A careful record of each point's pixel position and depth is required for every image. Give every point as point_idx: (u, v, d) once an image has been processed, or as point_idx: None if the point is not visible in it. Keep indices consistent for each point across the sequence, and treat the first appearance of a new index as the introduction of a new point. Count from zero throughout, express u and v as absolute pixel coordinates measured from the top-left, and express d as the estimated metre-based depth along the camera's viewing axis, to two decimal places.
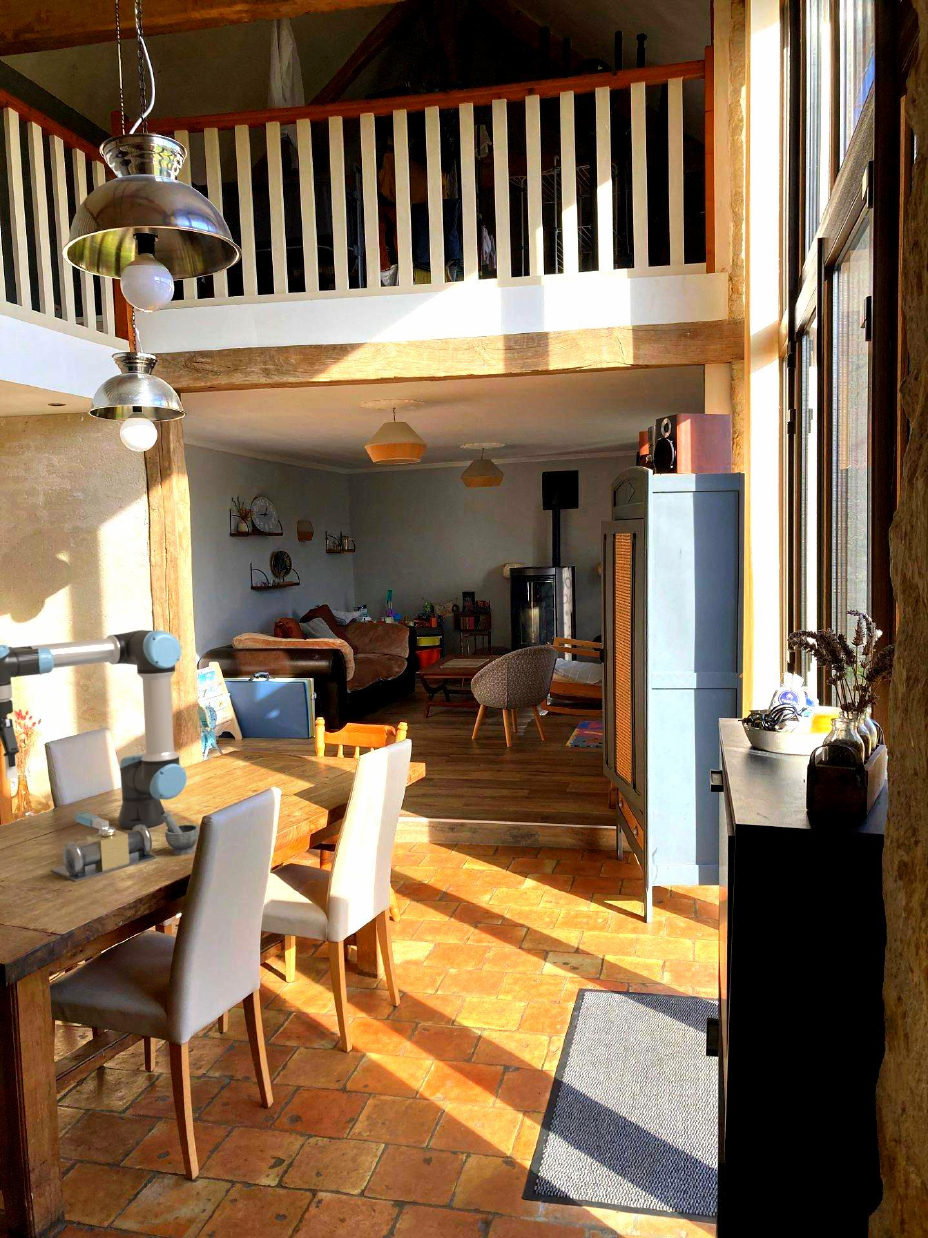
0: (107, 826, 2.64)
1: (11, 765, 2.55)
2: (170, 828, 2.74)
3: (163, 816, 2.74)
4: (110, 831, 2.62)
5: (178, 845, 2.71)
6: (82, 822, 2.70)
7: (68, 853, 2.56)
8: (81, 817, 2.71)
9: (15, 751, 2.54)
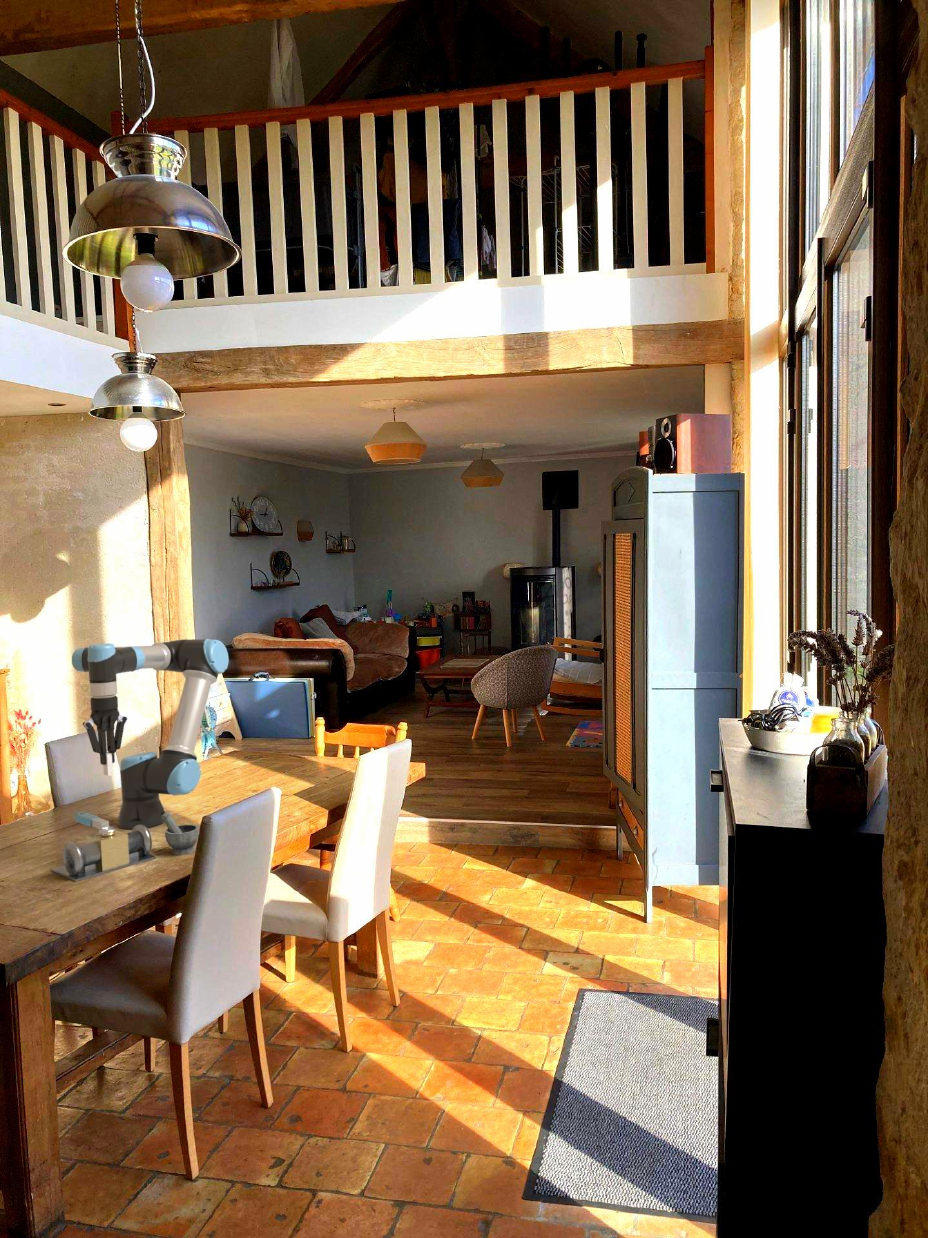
0: (107, 826, 2.64)
1: (101, 763, 2.73)
2: (170, 828, 2.74)
3: (163, 816, 2.74)
4: (110, 831, 2.62)
5: (178, 845, 2.71)
6: (82, 822, 2.70)
7: (68, 853, 2.56)
8: (81, 817, 2.71)
9: (95, 751, 2.71)
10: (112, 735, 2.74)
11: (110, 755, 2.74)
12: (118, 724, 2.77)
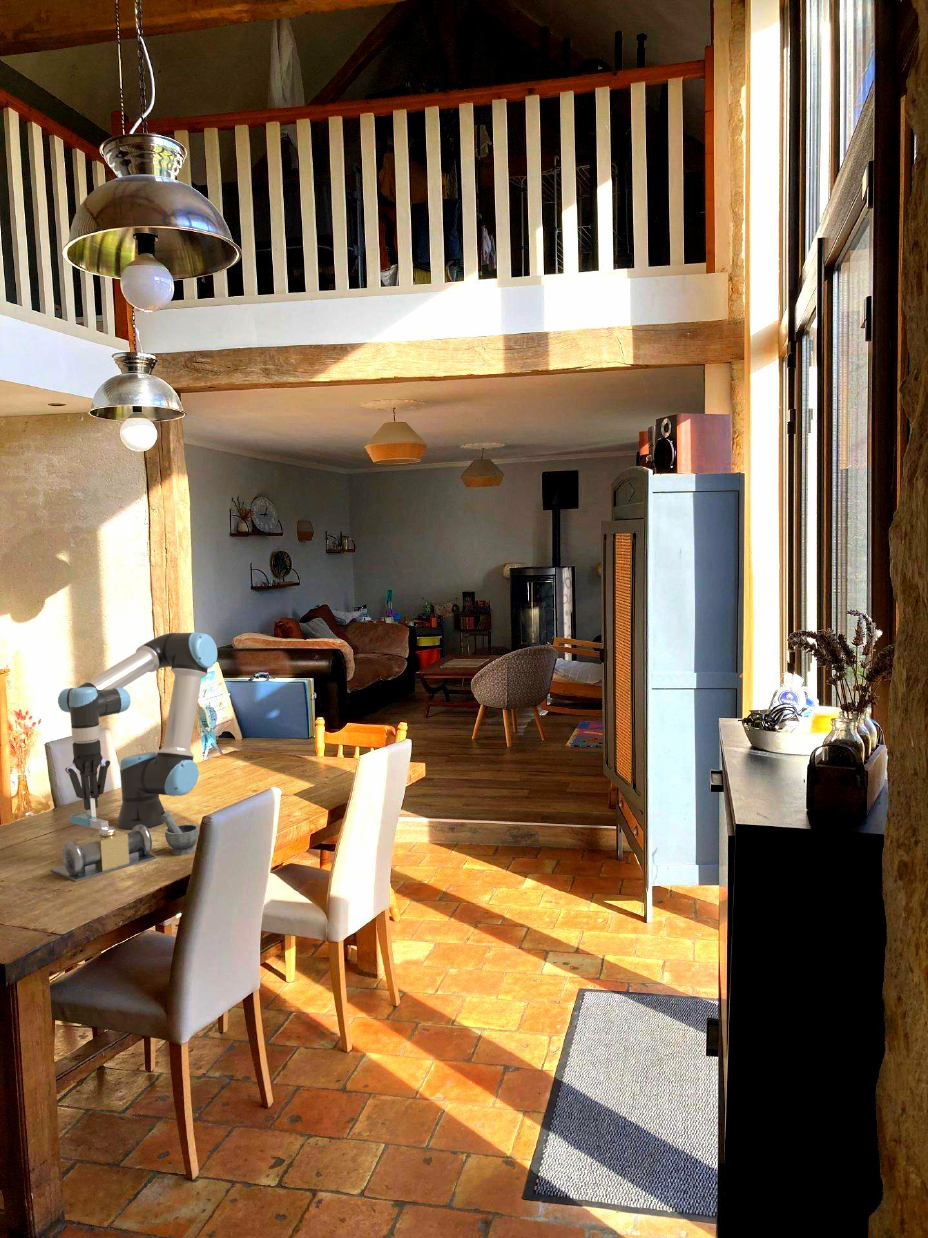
0: (107, 826, 2.64)
1: (84, 808, 2.70)
2: (170, 828, 2.74)
3: (163, 816, 2.74)
4: (111, 831, 2.62)
5: (178, 845, 2.71)
6: (78, 823, 2.69)
7: (68, 853, 2.56)
8: (77, 818, 2.69)
9: (79, 796, 2.68)
10: (95, 780, 2.71)
11: (93, 800, 2.70)
12: (102, 768, 2.73)
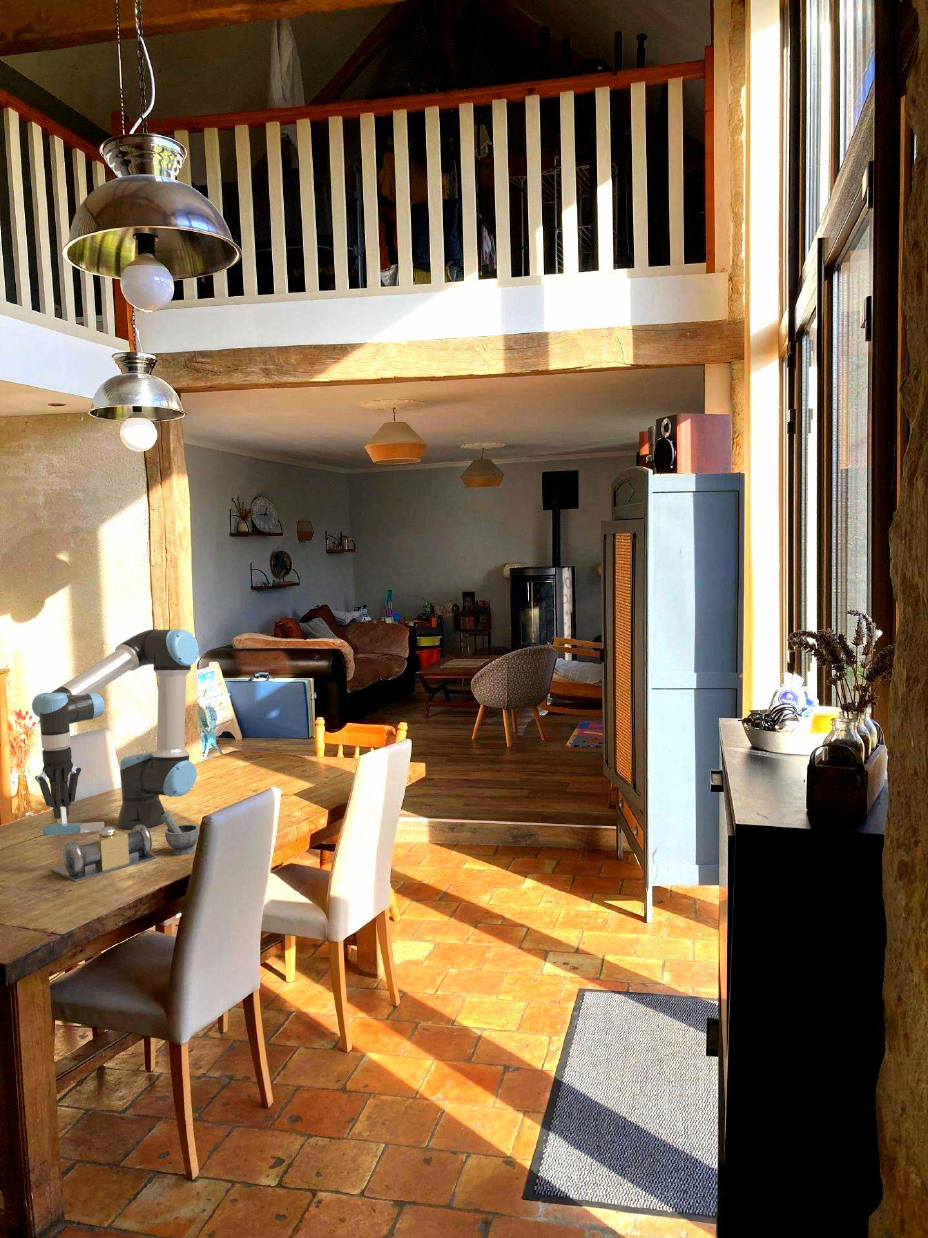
0: (103, 827, 2.64)
1: (55, 817, 2.63)
2: (170, 828, 2.74)
3: (163, 816, 2.74)
4: (114, 829, 2.63)
5: (178, 845, 2.71)
6: (61, 832, 2.60)
7: (68, 853, 2.56)
8: (59, 828, 2.60)
9: (49, 805, 2.61)
10: (66, 788, 2.64)
11: (64, 809, 2.63)
12: (72, 775, 2.66)
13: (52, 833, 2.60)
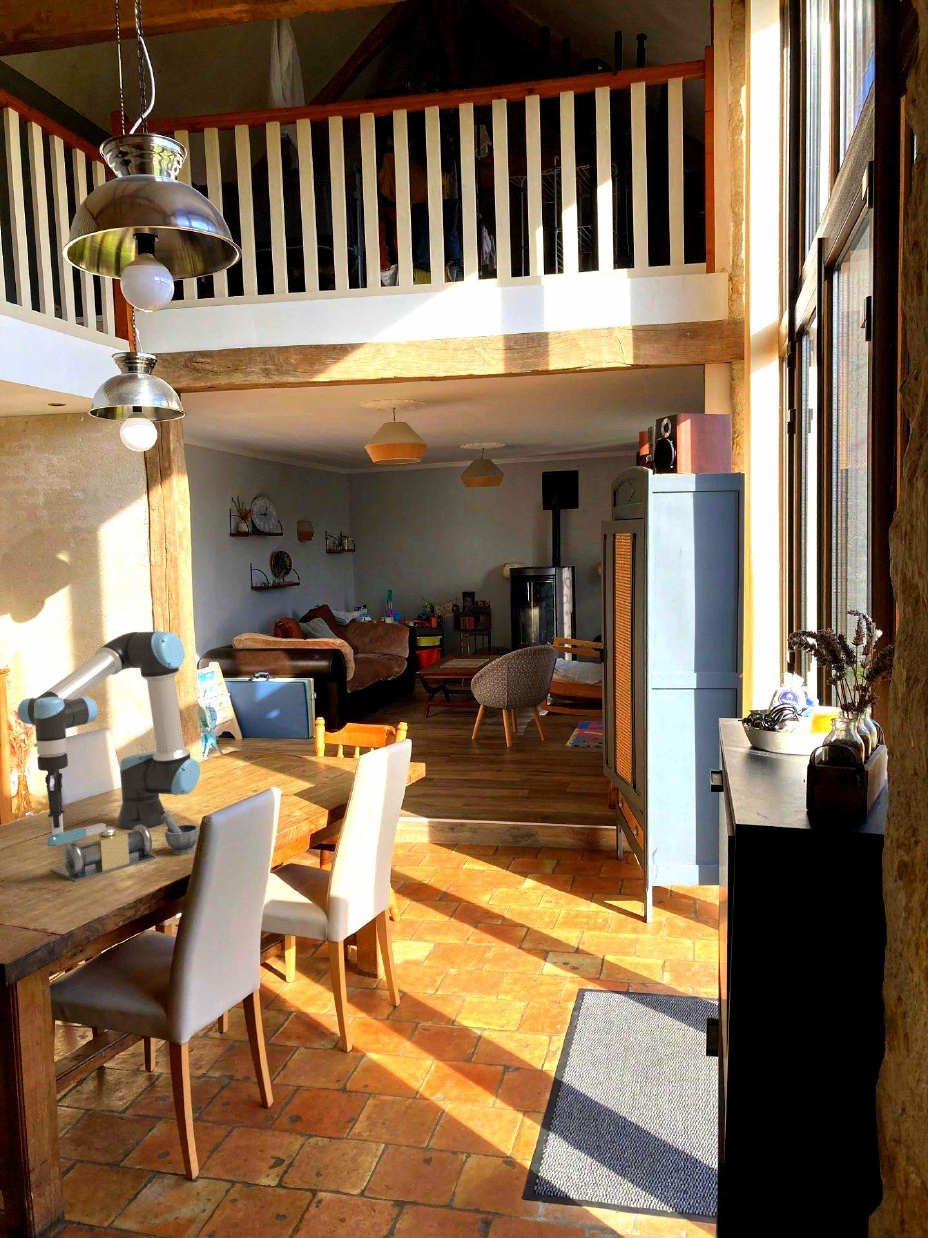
0: None
1: (55, 826, 2.53)
2: (170, 828, 2.74)
3: (163, 816, 2.74)
4: None
5: (178, 845, 2.71)
6: (68, 840, 2.53)
7: (68, 853, 2.56)
8: (67, 835, 2.52)
9: (56, 813, 2.51)
10: (60, 794, 2.55)
11: None
12: None
13: (60, 842, 2.51)
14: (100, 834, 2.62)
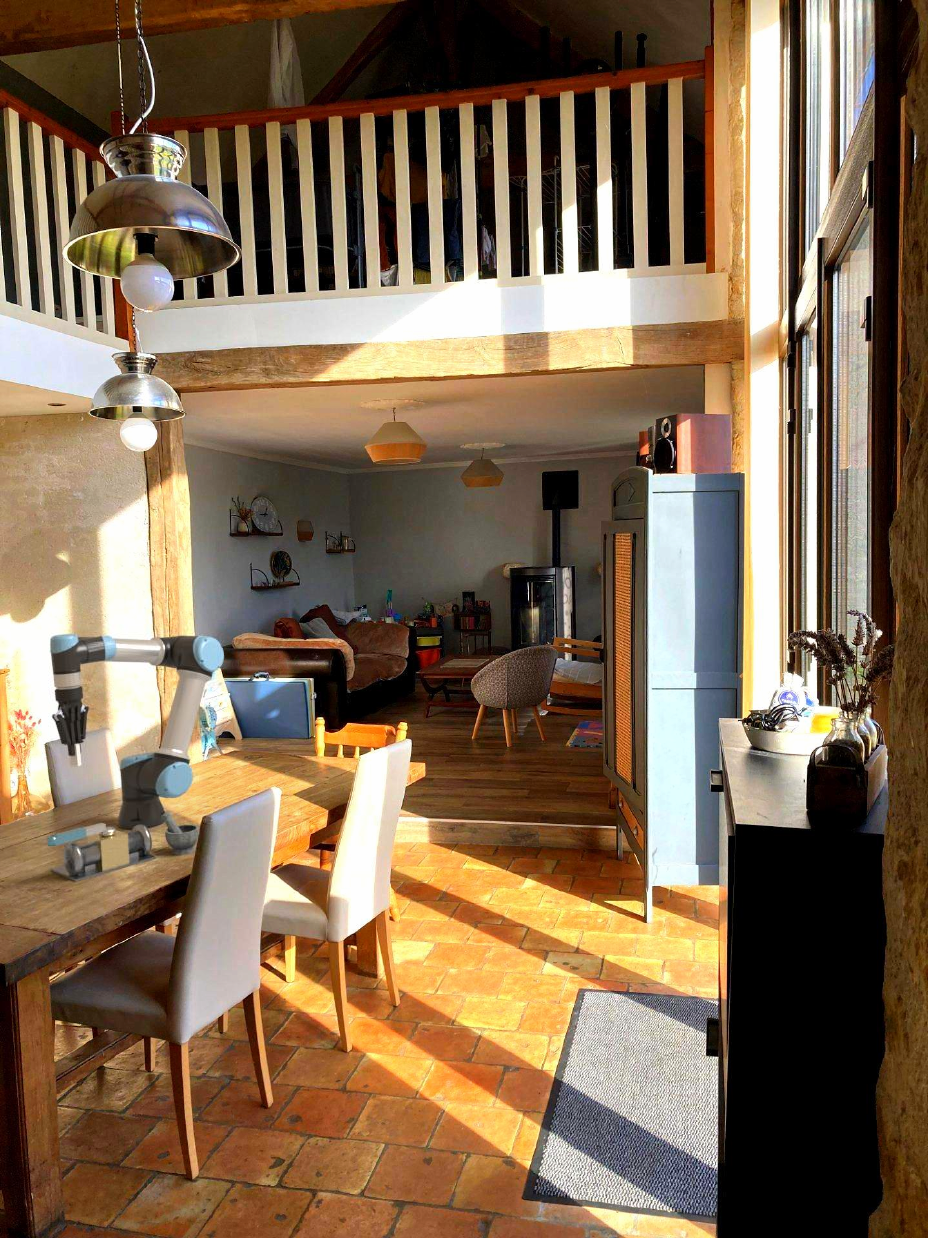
0: None
1: (69, 754, 2.71)
2: (170, 828, 2.74)
3: (163, 816, 2.74)
4: None
5: (178, 845, 2.71)
6: (68, 840, 2.53)
7: (68, 853, 2.56)
8: (67, 835, 2.52)
9: (65, 742, 2.69)
10: (78, 725, 2.73)
11: (78, 745, 2.72)
12: (81, 714, 2.75)
13: (60, 842, 2.51)
14: (100, 834, 2.62)
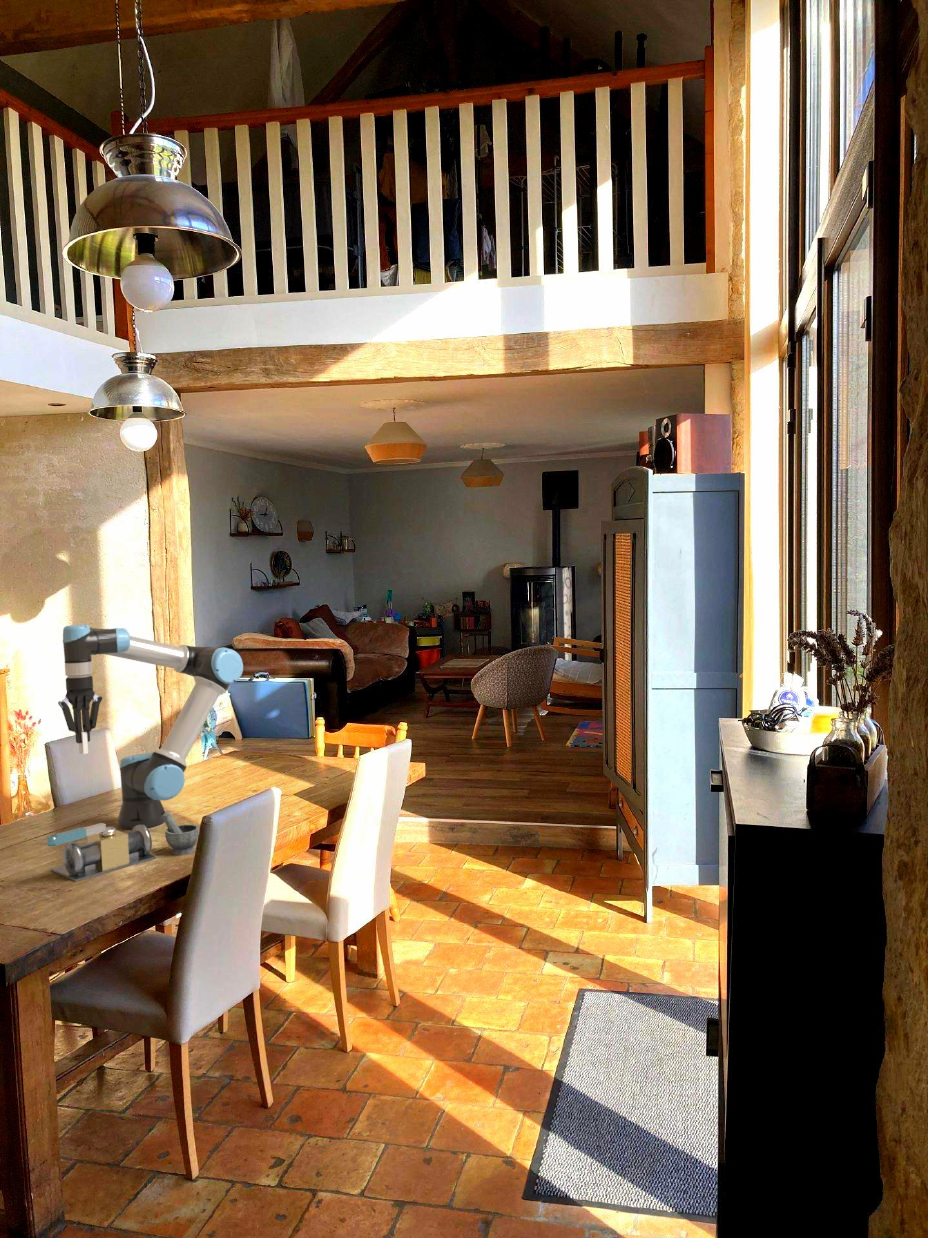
0: None
1: (76, 741, 2.79)
2: (170, 828, 2.74)
3: (163, 816, 2.74)
4: None
5: (178, 844, 2.71)
6: (68, 840, 2.53)
7: (68, 853, 2.56)
8: (67, 835, 2.52)
9: (71, 729, 2.77)
10: (87, 714, 2.80)
11: (85, 734, 2.79)
12: (94, 703, 2.82)
13: (60, 842, 2.51)
14: (100, 834, 2.62)
